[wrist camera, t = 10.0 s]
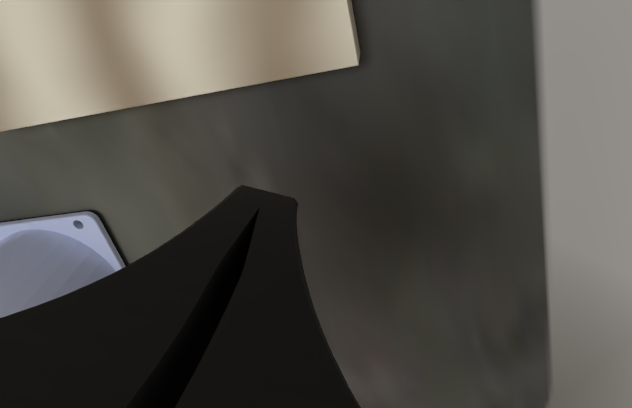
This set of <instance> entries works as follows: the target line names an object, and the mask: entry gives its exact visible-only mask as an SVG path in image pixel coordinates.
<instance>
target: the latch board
mask: <svg viewBox="0 0 632 408" xmlns="http://www.w3.org/2000/svg"><path fill="white" fill-rule="evenodd" d="M359 59H360V47H359V41H358V35H357V30H356V24H355V18H354V13H353V7H352V1H351V0H0V132H1V131H6V130H12V129H17V128H22V127H28V126H33V125H39V124H44V123H49V122H55V121H60V120H66V119H71V118H76V117H82V116H87V115H93V114H98V113H103V112H109V111H114V110H120V109H125V108H130V107H136V106H141V105H147V104H152V103H157V102H163V101H168V100H174V99H179V98H184V97H190V96H195V95H201V94H206V93H211V92H217V91H222V90H227V89H233V88H238V87H244V86H249V85H254V84H260V83H265V82H271V81H276V80H281V79H287V78H292V77H298V76H303V75H308V74H314V73H319V72H325V71H330V70H335V69H341V68H346V67H352V66H357V65H359Z"/></svg>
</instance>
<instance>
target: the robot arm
mask: <svg viewBox="0 0 632 408" xmlns="http://www.w3.org/2000/svg"><path fill="white" fill-rule="evenodd" d="M297 207H298V203H297V201H296V200H295V198H291V197H287V196H283V195H279V194H275V193H271V192H267V191H263V190H260V189H256V188H252V187H248V186H244V185H242V186H240V187H238V188H236V189H235V190H234V191H233V192H232V193H231V194H230V195H229V196H227V197H226V198H225V199H224V200H223V201H222V202H220V203H219V204H218V205H217V206H216V207H214V208H213V209H212V210H211V211H209V212H208V213H207V214H206V215H204V216H203V217H202V218H200V219H199V220H198V221H196V222H195V223H194V224H192V225H191V226H190V227H188V228H187V229H185V230H184V231H183V232H181V233H180V234H178V235H177V236H175V237H174V238H172V239H171V240H169V241H168V242H166V243H164V244H163V245H161V246H160V247H158V248H157V249H155V250H154V251H152V252H150V253H149V254H147V255H145V256H144V257H142V258H140V259H138V260H137V261H135V262H133V263H131V264H129V265H127V266H125V264H124V262H123V260H122V259H121V257H120V255H119V253H118V251H117V250H116V248H115V246H114V244H113V242H112V240H111V239H110V237H109V235H108V233H107V231H106V230H105V228H104V226H103V224H102V222H101V221H100V219H99V217H98V216H97V215H96V214H94V213H92V212H90V211H85V212H77V213H69V214H62V215H54V216H47V217H39V218H32V219H24V220H17V221H9V222H2V223H0V408H360V406H359V404H358V402H357V401H356V399H355V397H354V395H353V394H352V392H351V390H350V388H349V386H348V384H347V382H346V380H345V378H344V376H343V374H342V372H341V370H340V368H339V366H338V364H337V362H336V360H335V358H334V356H333V354H332V352H331V350H330V348H329V345H328V343H327V340H326V338H325V336H324V333H323V331H322V328H321V326H320V323H319V320H318V318H317V315H316V312H315V309H314V306H313V303H312V300H311V297H310V293H309V290H308V286H307V282H306V279H305V275H304V270H303V266H302V261H301V255H300V249H299V244H298V236H297V220H296V217H297ZM79 221H80V222H81V223H82V224H81V223H80V222H79Z"/></svg>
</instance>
